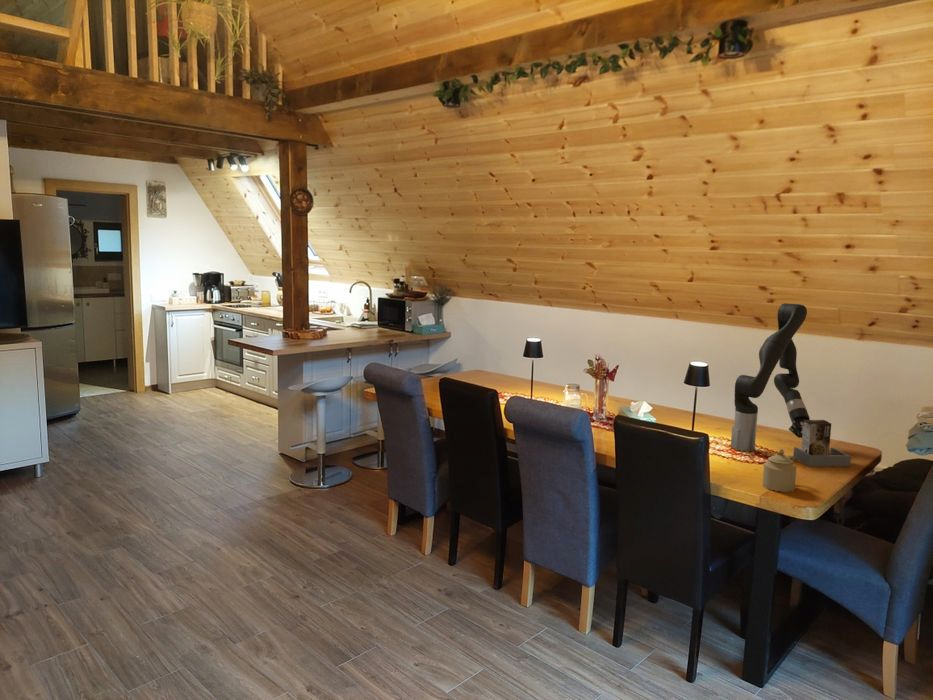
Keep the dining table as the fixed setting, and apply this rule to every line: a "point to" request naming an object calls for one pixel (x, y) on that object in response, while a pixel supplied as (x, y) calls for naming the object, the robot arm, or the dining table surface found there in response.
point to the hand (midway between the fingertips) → (809, 445)
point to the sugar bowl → (779, 473)
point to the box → (823, 458)
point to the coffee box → (816, 437)
